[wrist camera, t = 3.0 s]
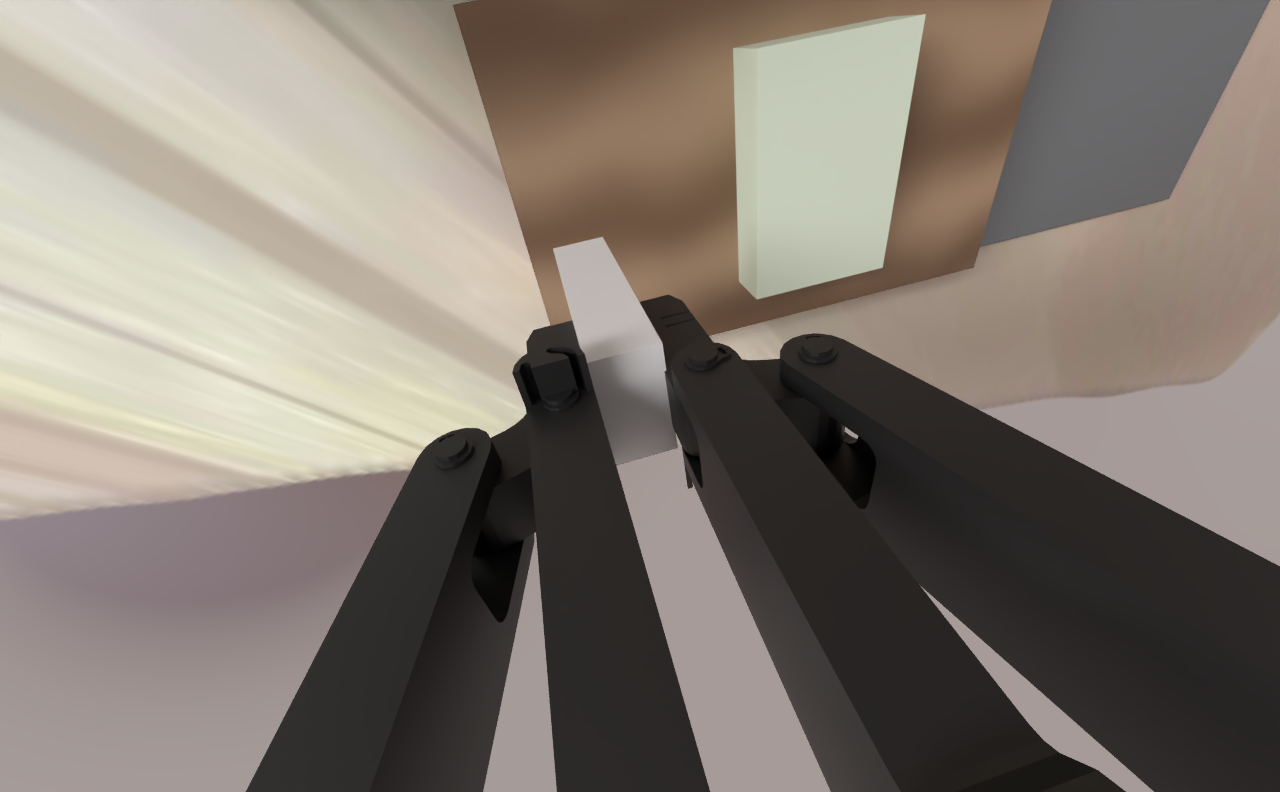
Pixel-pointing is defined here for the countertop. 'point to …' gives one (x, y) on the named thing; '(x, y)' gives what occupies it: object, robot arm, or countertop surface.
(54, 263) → the countertop surface
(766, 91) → the pale green block
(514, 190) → the board
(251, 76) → the countertop surface
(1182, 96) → the mat
